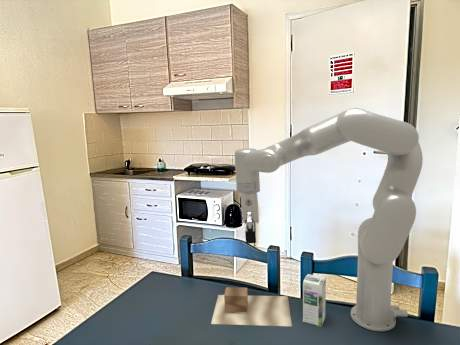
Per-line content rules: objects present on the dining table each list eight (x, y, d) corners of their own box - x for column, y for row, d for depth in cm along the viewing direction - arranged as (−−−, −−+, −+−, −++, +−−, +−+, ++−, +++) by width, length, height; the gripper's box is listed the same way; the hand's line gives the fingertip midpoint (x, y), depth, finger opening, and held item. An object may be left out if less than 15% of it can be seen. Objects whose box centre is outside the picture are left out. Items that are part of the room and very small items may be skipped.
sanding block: (247, 304, 106) (247, 287, 105) (247, 313, 101) (246, 296, 100) (226, 303, 106) (226, 287, 105) (225, 313, 101) (224, 295, 100)
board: (287, 300, 110) (287, 296, 110) (291, 330, 94) (291, 326, 94) (218, 298, 112) (218, 294, 112) (211, 328, 97) (211, 323, 96)
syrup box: (302, 326, 96) (302, 281, 94) (307, 315, 101) (307, 272, 99) (321, 331, 93) (322, 285, 91) (325, 320, 99) (326, 276, 96)
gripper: (260, 192, 95) (263, 247, 97) (259, 181, 112) (261, 228, 114) (235, 193, 95) (238, 248, 98) (237, 182, 112) (240, 229, 115)
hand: (251, 237), depth 106 cm, fingers open, 9 cm apart
